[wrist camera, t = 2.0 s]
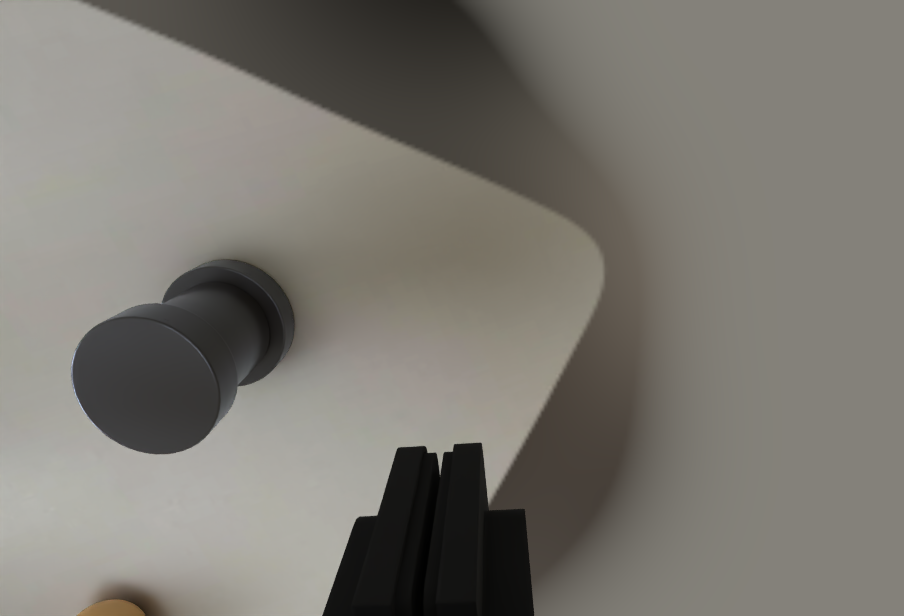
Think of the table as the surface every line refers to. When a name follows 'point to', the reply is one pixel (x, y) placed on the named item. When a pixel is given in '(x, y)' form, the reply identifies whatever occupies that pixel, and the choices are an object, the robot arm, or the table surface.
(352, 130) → the table surface
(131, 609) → the figurine
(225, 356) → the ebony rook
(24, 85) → the table surface
